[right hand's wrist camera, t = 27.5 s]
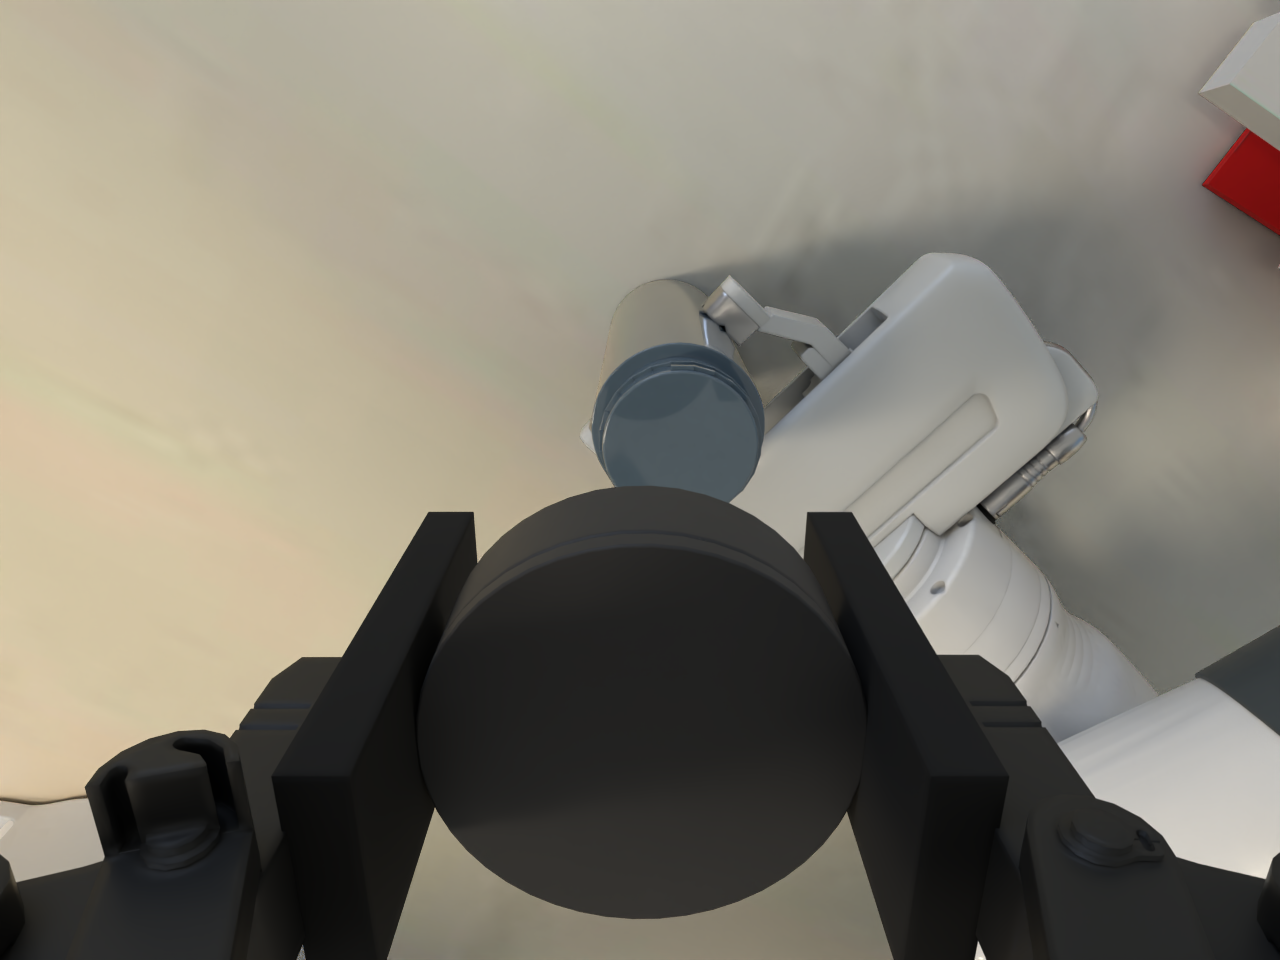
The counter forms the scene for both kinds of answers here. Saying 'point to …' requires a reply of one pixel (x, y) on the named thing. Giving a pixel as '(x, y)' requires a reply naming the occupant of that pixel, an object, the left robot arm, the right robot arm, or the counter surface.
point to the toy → (1251, 123)
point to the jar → (675, 397)
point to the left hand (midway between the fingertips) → (652, 357)
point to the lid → (641, 706)
